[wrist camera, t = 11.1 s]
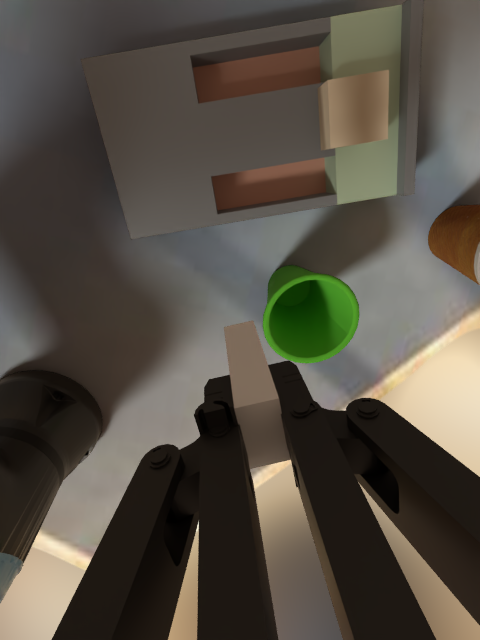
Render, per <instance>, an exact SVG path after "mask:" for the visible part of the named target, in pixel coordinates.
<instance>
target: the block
mask: <svg viewBox="0 0 480 640" xmlns="http://www.w3.org/2000/svg"><path fill="white" fill-rule="evenodd" d="M388 103H389V70H384V71H378V72H372V73H366V74H360V75H354V76H349V77H343V78H337V79H331V80H327V81H326V82H325V83H323V84H322V85H321V86H320V87H319V88H318V105H319V124H320V143H321V150H327V149H333V148H339V147H345V146H351V145H357V144H363V143H369V142H374V141H380V140H385V139H388Z"/></svg>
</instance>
